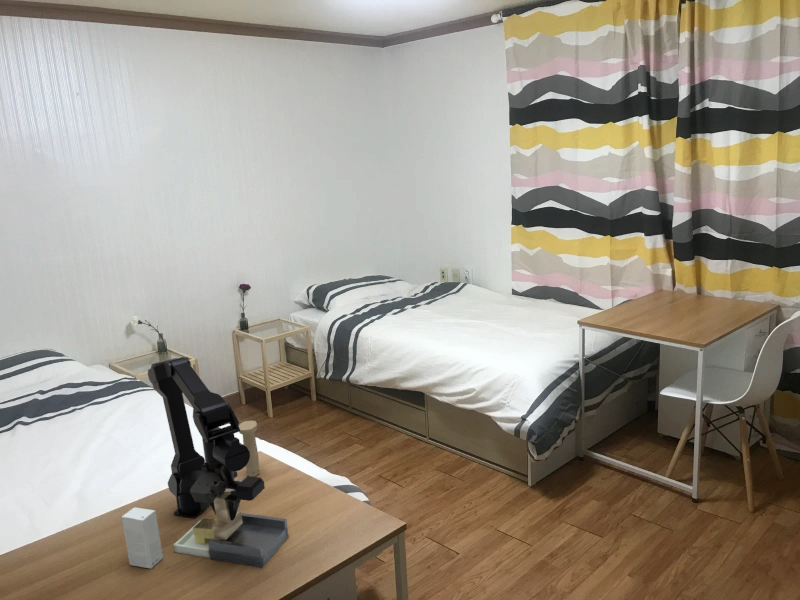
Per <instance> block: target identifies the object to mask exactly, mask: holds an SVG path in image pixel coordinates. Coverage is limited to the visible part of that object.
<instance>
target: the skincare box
mask: <svg viewBox="0 0 800 600" xmlns="http://www.w3.org/2000/svg"><path fill="white" fill-rule="evenodd" d="M121 521H122V527H123V533H124V539H125V545H126V551H127V556H128V563H129V565H130V566H133V567H140V568H143V569H144V568H146V569H150V570H151V569H153V568H154V567H155V566H156V565H157V564H158V563H159V562H161V560H162V559H164V555H163V550H162V542H161V536H160V531H159V523H158V518H157V512H156V510H155V509H149V508H148V509H147V508H142V507H141V508H140V507H133V508H131V509H130V510H128V511H127V512H126V513H124V514H123V515H122V516H121Z"/></svg>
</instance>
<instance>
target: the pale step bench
mask: <svg viewBox="0 0 800 600" xmlns="http://www.w3.org/2000/svg"><path fill="white" fill-rule="evenodd" d="M228 495H229V491H225V492H224V493H223V495H222V496H221V497H216V498H215V500H214V506H215V512H216V514H215V516H216V519H217V523H216V524H215V525H214V526H213V527H212V528H213V533H214V539H220V540H227V539H228V538H229V536H230V535H231V534H232V533H233V532H234V531H235V530H236V529H237V528H238V527H239V526H240V525H241V524H242V523H243V521H242V516H241V513H242V511H241V510H240V511H239V510H237V513H236V516H235V519H234V520H233V521H232V520H231V519H230V514H229V506H228V502H227V501H226V500H224V499H225V498H226V497H227V496H228Z"/></svg>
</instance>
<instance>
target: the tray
mask: <svg viewBox="0 0 800 600" xmlns="http://www.w3.org/2000/svg"><path fill="white" fill-rule="evenodd" d="M202 519H203V518H201V519H200V520H199V521H197V522H196V524H198V523H199V522H200V521H201V520H202ZM194 526H195V525H194ZM194 526H192V527H190V529H189V530H187V532H186V533H184V535H182V536H181V537H180V538H179V539H178V540H177V541H176V542H174V543H173V551H174V553H178V554H184V555H189V556H190V555H191V556H196V557H197V556H198V557H202V558H209V559H211V558H210V551H209V544H208V542H207V543H206V544H197V543H196V542H195V536H194V531H193V527H194ZM215 540H219V539H215Z"/></svg>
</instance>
